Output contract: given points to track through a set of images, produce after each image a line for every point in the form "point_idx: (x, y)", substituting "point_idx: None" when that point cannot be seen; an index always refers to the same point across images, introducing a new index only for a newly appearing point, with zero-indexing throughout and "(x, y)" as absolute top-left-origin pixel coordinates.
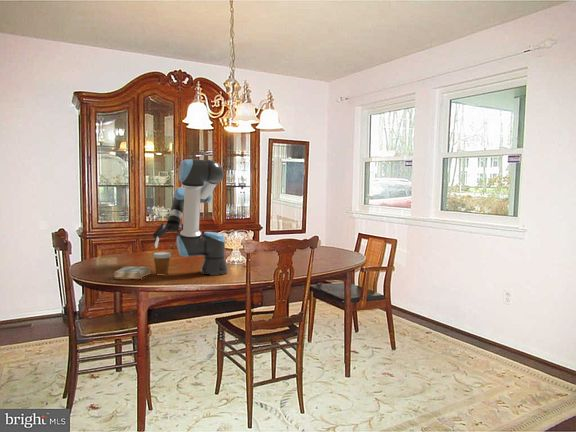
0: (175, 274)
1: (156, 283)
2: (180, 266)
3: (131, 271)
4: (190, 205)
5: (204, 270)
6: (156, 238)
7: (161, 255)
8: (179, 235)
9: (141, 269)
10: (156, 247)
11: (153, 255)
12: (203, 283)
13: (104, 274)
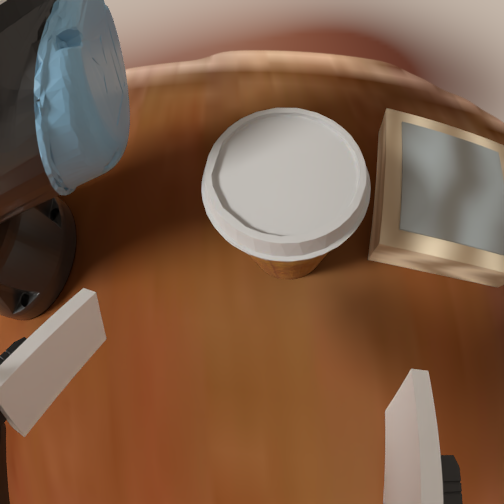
0: (205, 234)
1: (288, 82)
2: (181, 466)
3: (438, 131)
4: None
5: (58, 202)
6: (441, 491)
7: (279, 111)
8: (4, 497)
9: (406, 165)
10: (391, 403)
11: (367, 181)
12: None
13: None
